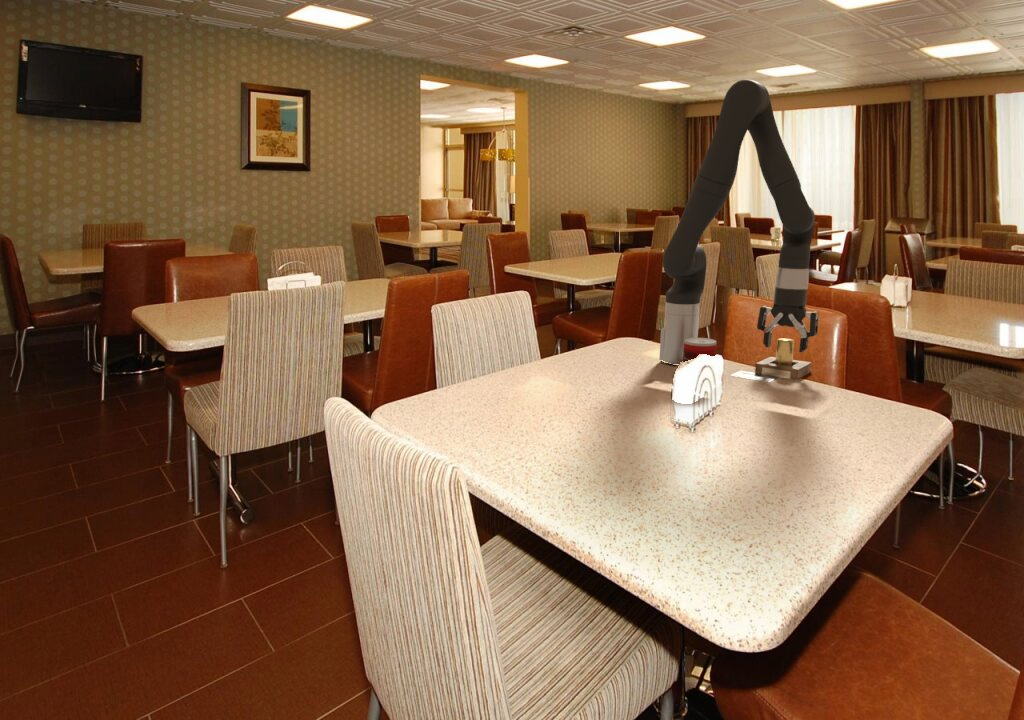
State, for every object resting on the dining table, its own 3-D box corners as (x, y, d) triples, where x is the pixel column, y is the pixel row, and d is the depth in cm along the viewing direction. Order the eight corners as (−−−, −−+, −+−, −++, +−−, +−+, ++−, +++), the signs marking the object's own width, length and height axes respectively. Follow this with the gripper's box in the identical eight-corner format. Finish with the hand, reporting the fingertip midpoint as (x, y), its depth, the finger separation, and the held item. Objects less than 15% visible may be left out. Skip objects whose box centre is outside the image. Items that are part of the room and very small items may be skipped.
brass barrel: (771, 378, 173) (775, 340, 171) (777, 375, 176) (780, 337, 174) (787, 380, 170) (791, 342, 168) (792, 377, 173) (796, 339, 171)
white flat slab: (729, 381, 169) (729, 375, 169) (739, 376, 175) (740, 370, 174) (768, 388, 163) (769, 382, 163) (778, 382, 168) (779, 376, 168)
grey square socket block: (754, 378, 172) (755, 363, 171) (769, 371, 180) (770, 356, 179) (796, 385, 166) (798, 369, 165) (810, 377, 174) (811, 362, 173)
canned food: (717, 382, 168) (720, 339, 166) (708, 389, 162) (711, 344, 159) (687, 378, 172) (689, 336, 170) (677, 385, 166) (680, 341, 163)
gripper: (757, 284, 170) (751, 347, 173) (816, 290, 161) (809, 356, 165) (768, 282, 175) (762, 343, 179) (825, 287, 166) (818, 351, 170)
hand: (784, 349), depth 172 cm, fingers open, 8 cm apart
